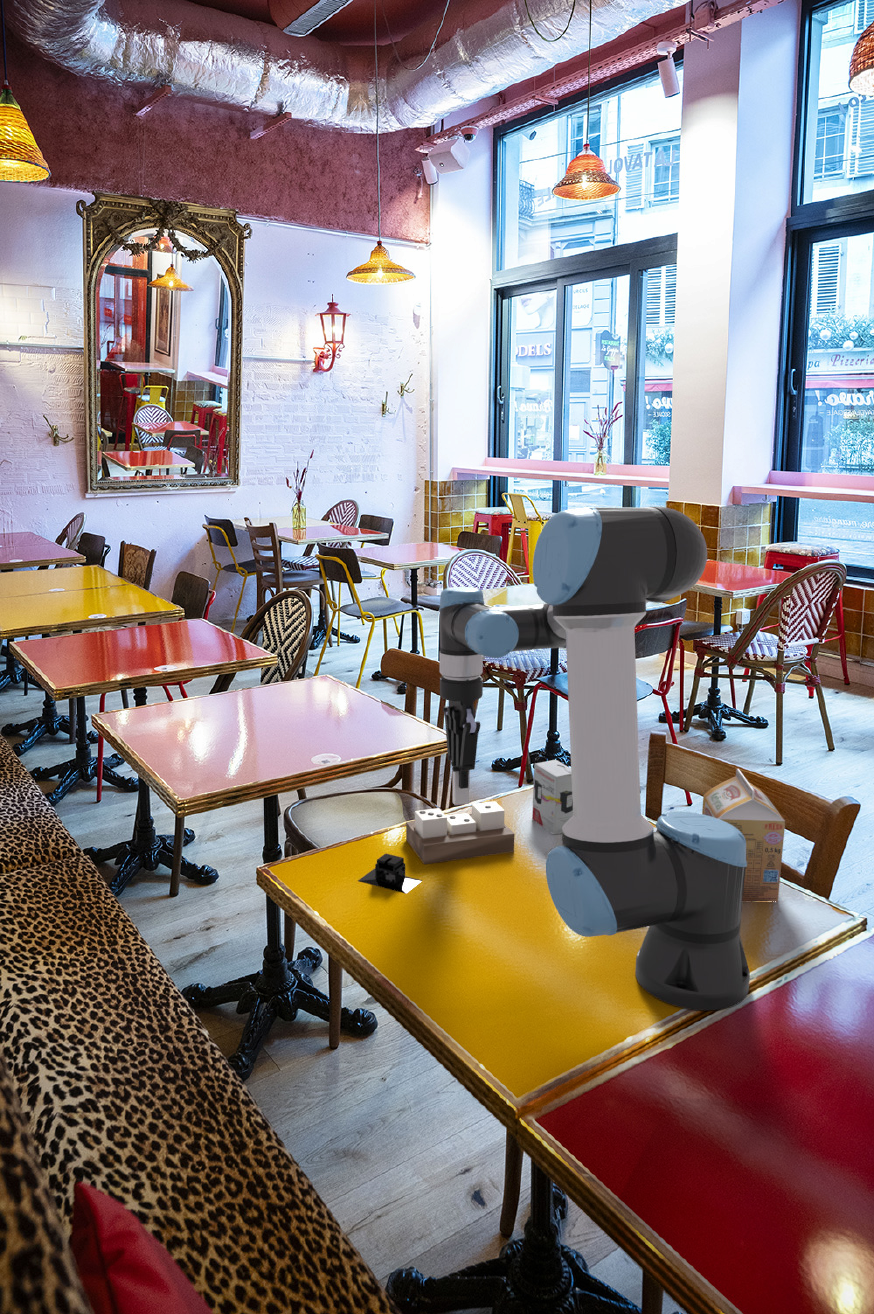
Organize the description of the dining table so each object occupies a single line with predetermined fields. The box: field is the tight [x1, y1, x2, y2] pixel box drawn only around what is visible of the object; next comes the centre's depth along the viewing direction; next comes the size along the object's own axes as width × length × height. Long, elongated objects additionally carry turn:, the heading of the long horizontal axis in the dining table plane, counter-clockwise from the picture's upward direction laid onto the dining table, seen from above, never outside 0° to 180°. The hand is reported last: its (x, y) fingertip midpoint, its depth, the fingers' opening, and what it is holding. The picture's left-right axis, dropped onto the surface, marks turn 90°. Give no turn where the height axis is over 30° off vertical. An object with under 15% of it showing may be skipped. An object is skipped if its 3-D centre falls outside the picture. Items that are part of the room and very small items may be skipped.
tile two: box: [446, 812, 476, 835], centre depth 173 cm, size 5×5×5 cm
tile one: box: [471, 801, 505, 831], centre depth 175 cm, size 5×5×5 cm
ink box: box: [531, 759, 573, 835], centre depth 182 cm, size 9×5×12 cm, turn 25°
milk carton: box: [701, 768, 786, 903], centre depth 156 cm, size 11×11×19 cm
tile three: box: [414, 807, 447, 839], centre depth 171 cm, size 5×5×5 cm
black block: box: [357, 853, 423, 894], centre depth 160 cm, size 12×7×5 cm, turn 61°
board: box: [405, 813, 515, 865], centre depth 174 cm, size 11×17×4 cm, turn 109°
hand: (460, 803), depth 172 cm, fingers closed
